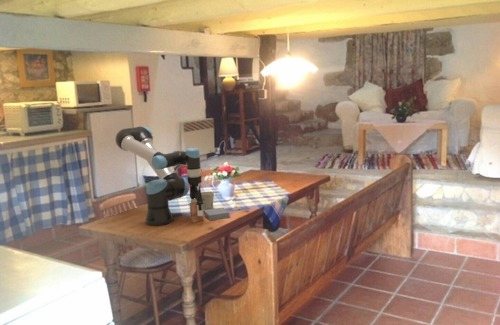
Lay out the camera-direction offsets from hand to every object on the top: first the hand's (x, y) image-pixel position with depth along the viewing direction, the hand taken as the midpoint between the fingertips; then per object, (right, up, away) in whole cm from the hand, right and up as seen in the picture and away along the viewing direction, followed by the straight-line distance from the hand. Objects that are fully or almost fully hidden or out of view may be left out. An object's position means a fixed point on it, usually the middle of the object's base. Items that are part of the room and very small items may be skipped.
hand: (197, 212), depth 268 cm
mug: (+2, 0, +24) cm, 24 cm away
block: (0, -4, +1) cm, 4 cm away
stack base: (+11, -3, +7) cm, 13 cm away
